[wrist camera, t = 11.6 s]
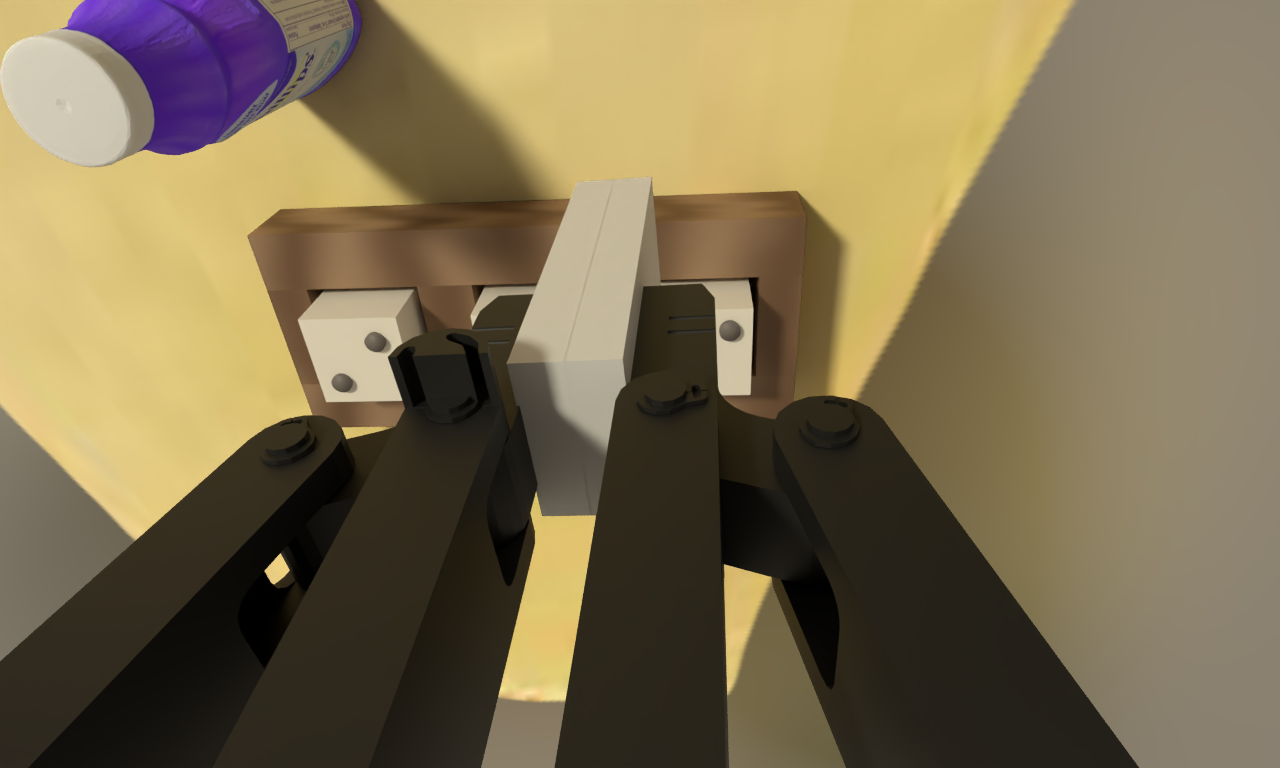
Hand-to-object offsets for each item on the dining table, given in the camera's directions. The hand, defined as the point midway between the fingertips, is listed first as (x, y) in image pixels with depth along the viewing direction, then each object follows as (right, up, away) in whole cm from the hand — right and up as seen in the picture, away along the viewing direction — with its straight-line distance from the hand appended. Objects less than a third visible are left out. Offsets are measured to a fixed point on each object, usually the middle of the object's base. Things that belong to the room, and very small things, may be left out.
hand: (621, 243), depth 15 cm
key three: (+4, +2, +30) cm, 30 cm away
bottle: (-17, +16, +23) cm, 32 cm away
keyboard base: (-5, +2, +31) cm, 31 cm away
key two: (-15, +2, +31) cm, 34 cm away
